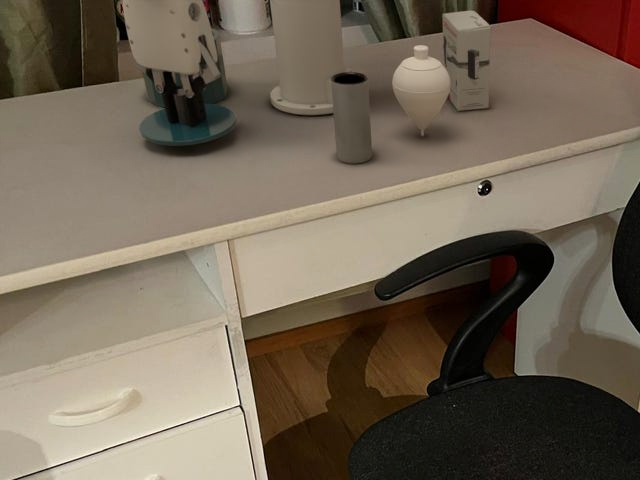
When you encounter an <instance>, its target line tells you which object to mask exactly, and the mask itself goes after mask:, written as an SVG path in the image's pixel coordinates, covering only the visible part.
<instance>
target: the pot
mask: <svg viewBox="0 0 640 480" xmlns="http://www.w3.org/2000/svg"><path fill="white" fill-rule="evenodd" d="M211 30H212V34H213V38H214V42H215V46H216V51H217V59H218V60H217V62H216V63H215V65H216V67H217V68H218V70H219V72H220V74H221V76H220V77H219V78H218V79H216V80H214V81H212V82H210V83H208V84H207V86H206V87H205V90H204V91H202V96H203V101H204V103H206V104H216V103H218V102H220V101H222V100H223V99H224V98H226V96H227V95H228V82H227V76H226V75H227V74H226V70H225V68H226V67H225V63H224V56H223V50H222V43H221V36H220V34H219V32H218V30H217V29H214V28H212V27H211ZM200 67H201V66H200ZM201 71H202V74H203V69H202V68H201ZM141 73H142V78H143V83H144V84H143V85H144V87H145V92H146V97H147V100H148V101H149V102H150V103H151V104H152V105H155V106H158V107H159V108H165V106H164V102H163V98H162V93H159V92H158V91H157V90H156V88H155V84H154V83H153V82H152V81H151V79H150V78H149V77H148V76H147V74H145V73H143V72H141ZM175 77H176V86H177V85H178V86H181V89H183V85H182V81H181V77H180V74H179V73H175ZM191 80H192V82H193V76H191Z"/></svg>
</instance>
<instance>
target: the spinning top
mask: <svg viewBox="0 0 640 480" xmlns="http://www.w3.org/2000/svg"><path fill="white" fill-rule="evenodd" d="M413 55H414V56H410V57H407V58H405V59H404V60H402V61H401V63H400V64H399V65H398V66H397V68H396V69H395V71H394V73H393V75H392V90H393V93H394V95H395V98H396V100H397V101H398V103H399V105H400V107H401V108H402V110H403V111H404V112H405V114H406V115H407V117H408V118H409V119H410V120H411V122H412V123H413V124H414V125H415V126H416V127H417V128H418V129H419V130H420V136H421V137H424V136H425V130H426V129H427V128H428V127H429V125H431V124H432V122H433V121H434V119H436V117H437V115H438V114H439V113H440V111H441V110H442V108H443V107H444V105H445V103H446V101H447V99H448V94H449V92H450V85H451V82H450V77H449V74H448V72H447V70H446V69H445V67H444V66H443V63H441V61H440V60H439V59H437V58H434V57H432V56H429V47H428V46H427V45H423V44H421V45H420V44H419V45H418V44H417V45H415V46H414V47H413Z"/></svg>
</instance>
